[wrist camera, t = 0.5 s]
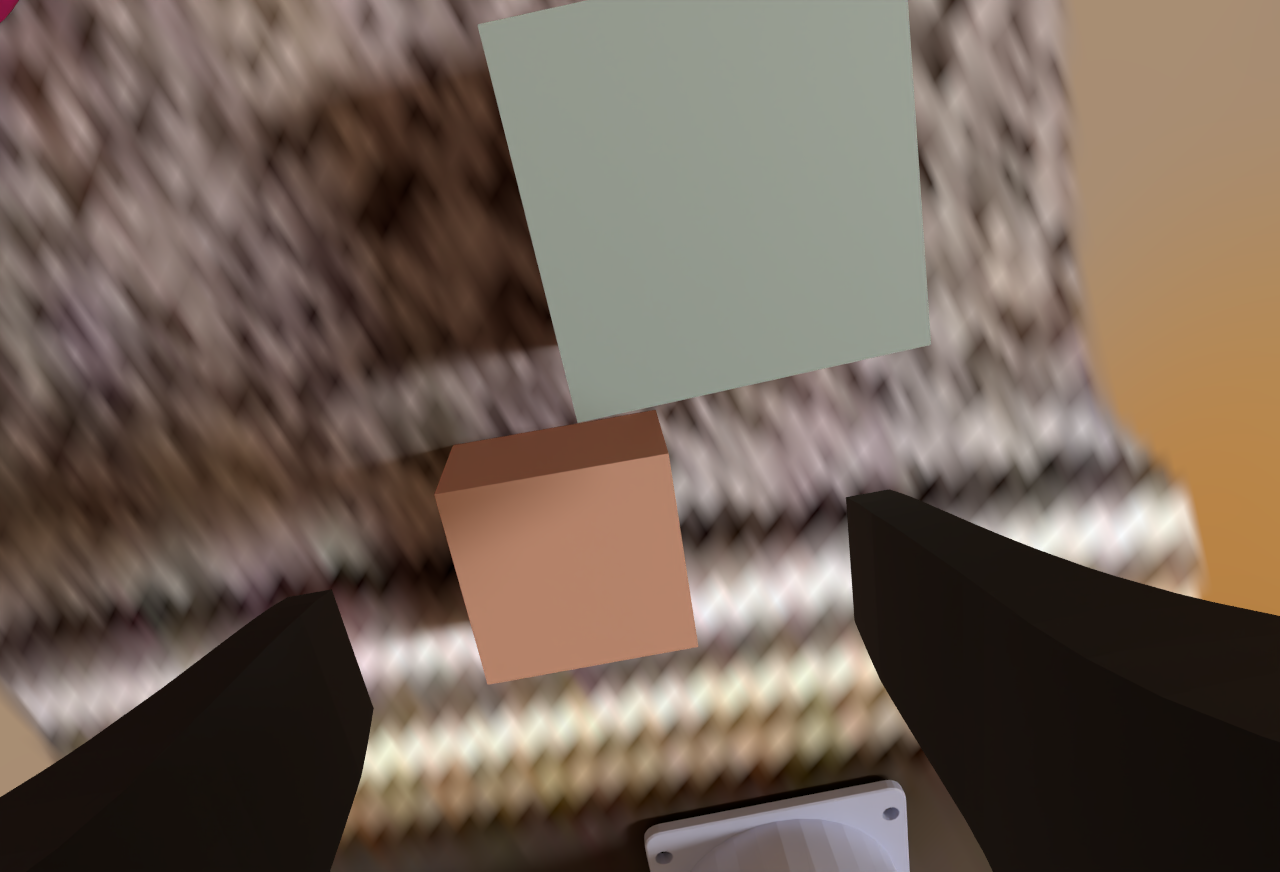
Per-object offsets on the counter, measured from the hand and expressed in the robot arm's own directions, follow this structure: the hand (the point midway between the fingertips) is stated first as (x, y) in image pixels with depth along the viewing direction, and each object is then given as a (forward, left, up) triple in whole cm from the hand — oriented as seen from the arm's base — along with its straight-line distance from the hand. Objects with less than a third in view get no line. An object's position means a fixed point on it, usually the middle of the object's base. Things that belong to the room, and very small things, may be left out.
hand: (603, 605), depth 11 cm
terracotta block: (-3, +1, -9) cm, 9 cm away
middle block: (+5, -3, -6) cm, 8 cm away
